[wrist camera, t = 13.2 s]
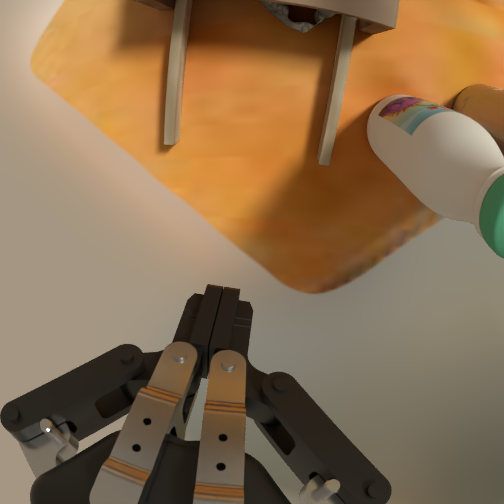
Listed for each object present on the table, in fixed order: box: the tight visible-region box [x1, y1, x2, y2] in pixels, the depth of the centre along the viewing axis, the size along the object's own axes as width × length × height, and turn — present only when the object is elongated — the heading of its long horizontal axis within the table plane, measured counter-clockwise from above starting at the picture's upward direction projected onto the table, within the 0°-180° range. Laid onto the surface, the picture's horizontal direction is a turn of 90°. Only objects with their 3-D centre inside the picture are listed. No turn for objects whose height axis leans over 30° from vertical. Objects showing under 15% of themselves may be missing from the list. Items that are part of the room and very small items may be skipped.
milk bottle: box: [367, 94, 504, 258], centre depth 19 cm, size 8×8×20 cm
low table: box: [134, 0, 399, 166], centre depth 20 cm, size 20×26×6 cm
